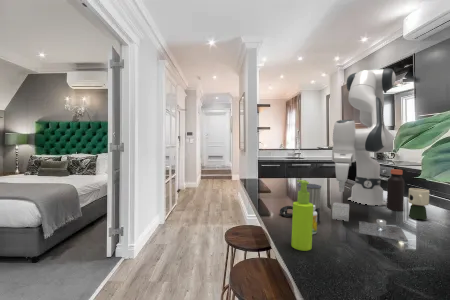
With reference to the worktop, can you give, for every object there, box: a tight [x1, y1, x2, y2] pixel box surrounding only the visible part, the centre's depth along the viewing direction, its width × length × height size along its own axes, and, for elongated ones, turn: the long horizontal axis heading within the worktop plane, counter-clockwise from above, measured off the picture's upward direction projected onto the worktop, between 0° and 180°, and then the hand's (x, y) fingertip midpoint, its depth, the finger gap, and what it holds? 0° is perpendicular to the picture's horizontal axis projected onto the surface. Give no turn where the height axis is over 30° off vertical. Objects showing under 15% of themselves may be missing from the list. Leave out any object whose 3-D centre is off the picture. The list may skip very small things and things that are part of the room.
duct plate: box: [358, 218, 409, 242], centre depth 90 cm, size 14×14×4 cm
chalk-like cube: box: [331, 202, 350, 222], centre depth 105 cm, size 6×6×6 cm
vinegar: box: [386, 168, 405, 212], centre depth 123 cm, size 7×7×20 cm
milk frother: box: [279, 183, 322, 225], centre depth 102 cm, size 14×16×15 cm
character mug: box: [407, 187, 430, 221], centre depth 107 cm, size 11×7×13 cm, turn 149°
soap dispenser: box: [290, 179, 313, 252], centre depth 75 cm, size 6×7×20 cm
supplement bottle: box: [312, 205, 318, 235], centre depth 87 cm, size 5×5×10 cm
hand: (341, 190), depth 104 cm, fingers open, 8 cm apart
